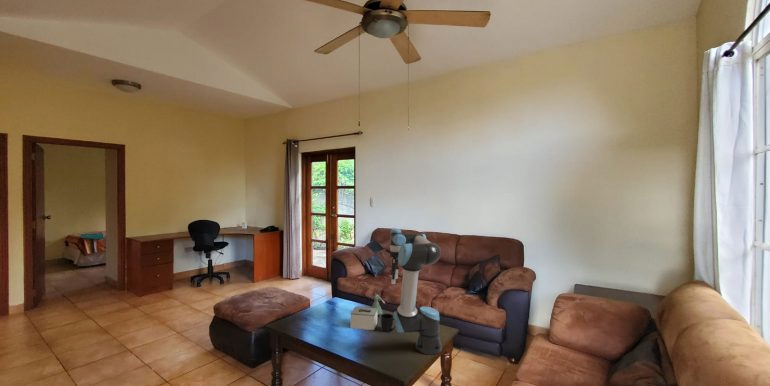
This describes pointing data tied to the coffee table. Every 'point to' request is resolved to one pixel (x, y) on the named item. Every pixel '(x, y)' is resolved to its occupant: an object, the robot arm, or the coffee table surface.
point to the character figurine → (376, 303)
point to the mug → (387, 322)
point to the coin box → (364, 318)
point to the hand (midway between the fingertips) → (394, 281)
